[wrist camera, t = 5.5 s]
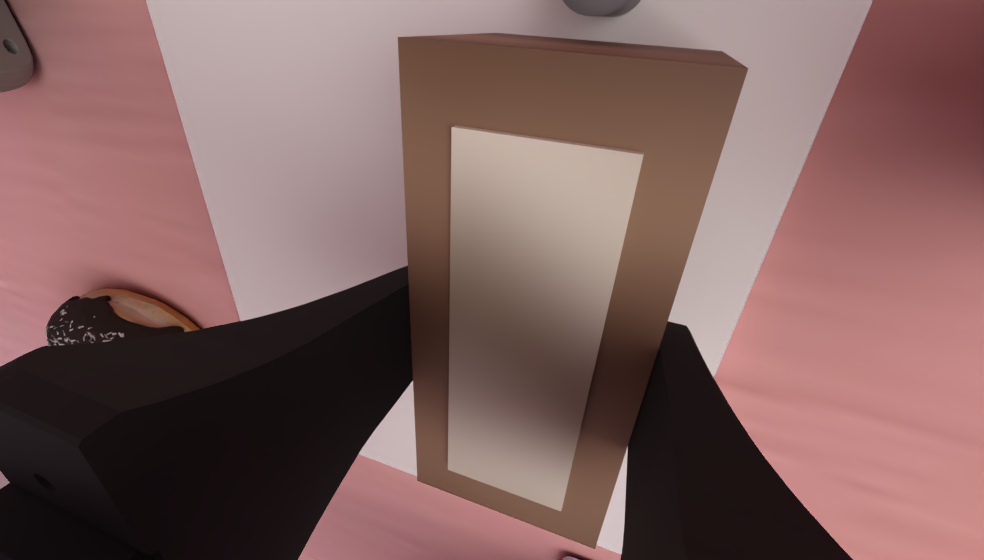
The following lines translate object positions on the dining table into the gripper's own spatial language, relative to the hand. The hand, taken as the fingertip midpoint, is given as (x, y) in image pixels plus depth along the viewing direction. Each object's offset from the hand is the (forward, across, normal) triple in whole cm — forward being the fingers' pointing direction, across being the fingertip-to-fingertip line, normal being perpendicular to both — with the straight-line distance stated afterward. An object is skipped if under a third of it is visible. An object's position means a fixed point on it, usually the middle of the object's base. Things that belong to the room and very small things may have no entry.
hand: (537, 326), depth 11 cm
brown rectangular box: (+3, 0, 0) cm, 3 cm away
